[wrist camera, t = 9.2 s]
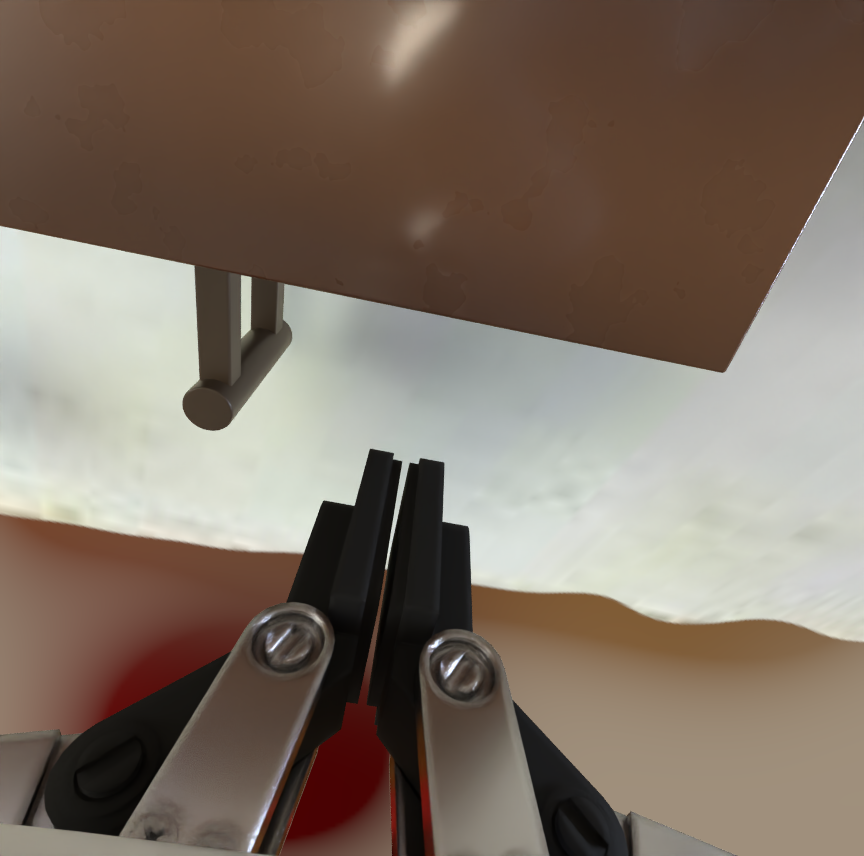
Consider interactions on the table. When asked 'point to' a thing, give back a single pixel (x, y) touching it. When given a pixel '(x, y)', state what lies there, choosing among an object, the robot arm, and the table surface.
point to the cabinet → (445, 150)
